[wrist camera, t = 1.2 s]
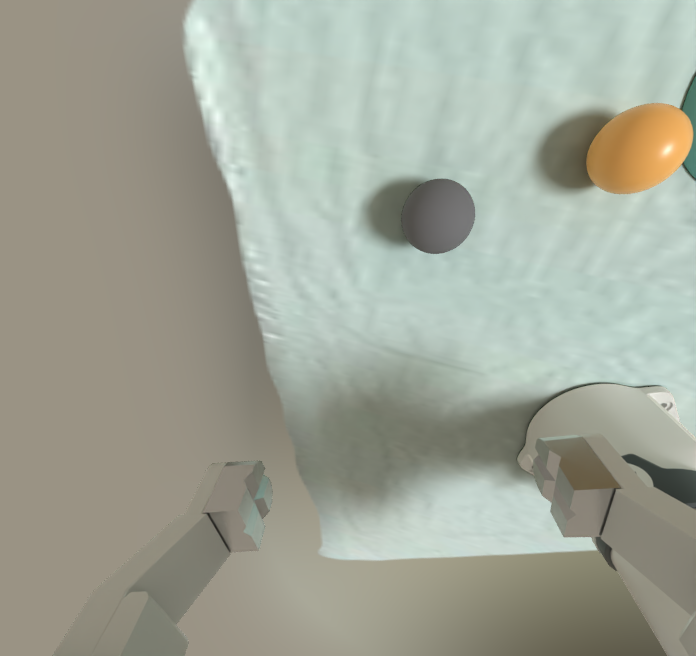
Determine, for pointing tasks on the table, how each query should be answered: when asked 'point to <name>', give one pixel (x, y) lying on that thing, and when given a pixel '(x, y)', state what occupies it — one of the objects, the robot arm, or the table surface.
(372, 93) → the table surface
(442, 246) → the dark grey ball
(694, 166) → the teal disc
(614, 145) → the orange ball
